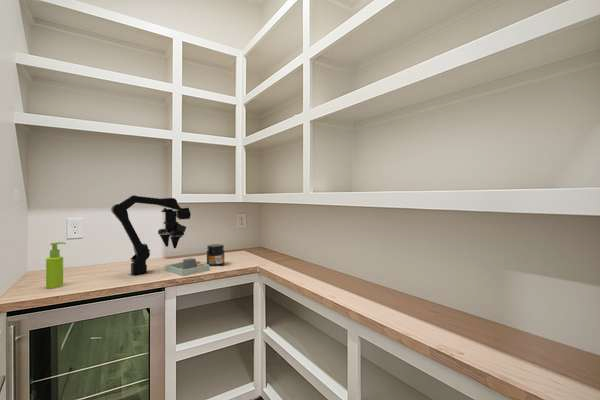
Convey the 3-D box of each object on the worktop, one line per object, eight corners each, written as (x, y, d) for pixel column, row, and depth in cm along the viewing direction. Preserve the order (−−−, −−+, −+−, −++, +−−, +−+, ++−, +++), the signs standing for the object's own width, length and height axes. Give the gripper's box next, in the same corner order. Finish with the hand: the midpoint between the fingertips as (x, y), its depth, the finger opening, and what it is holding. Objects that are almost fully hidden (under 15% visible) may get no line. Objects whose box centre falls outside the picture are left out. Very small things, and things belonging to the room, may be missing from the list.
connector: (187, 271, 153) (187, 260, 153) (183, 270, 156) (183, 259, 156) (200, 268, 159) (200, 258, 159) (196, 267, 162) (196, 257, 162)
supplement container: (220, 267, 164) (220, 246, 164) (203, 267, 165) (203, 246, 165) (227, 263, 175) (227, 244, 175) (211, 263, 176) (211, 243, 176)
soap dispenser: (66, 285, 129) (66, 242, 129) (46, 289, 124) (46, 244, 125) (65, 283, 133) (65, 241, 134) (45, 286, 129) (45, 242, 129)
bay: (182, 277, 143) (182, 270, 143) (165, 271, 155) (164, 265, 155) (209, 271, 155) (209, 264, 155) (191, 266, 167) (191, 260, 167)
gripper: (192, 219, 160) (192, 247, 160) (176, 218, 172) (176, 244, 172) (173, 220, 151) (173, 249, 151) (157, 219, 163) (157, 246, 163)
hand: (170, 247), depth 160 cm, fingers open, 9 cm apart
